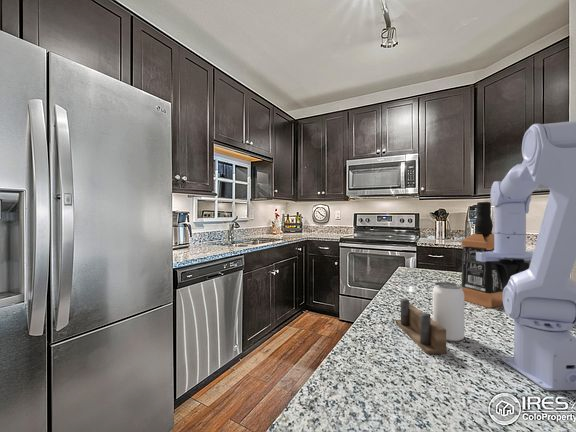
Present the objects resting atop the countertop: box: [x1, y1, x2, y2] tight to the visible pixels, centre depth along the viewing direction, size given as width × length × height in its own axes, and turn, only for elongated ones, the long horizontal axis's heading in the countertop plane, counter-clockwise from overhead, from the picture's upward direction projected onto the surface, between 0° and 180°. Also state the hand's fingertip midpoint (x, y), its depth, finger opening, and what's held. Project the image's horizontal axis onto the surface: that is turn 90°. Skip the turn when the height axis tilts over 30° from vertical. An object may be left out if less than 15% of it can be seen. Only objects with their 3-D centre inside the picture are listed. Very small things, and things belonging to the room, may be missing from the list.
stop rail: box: [395, 298, 447, 355], centre depth 65 cm, size 16×4×7 cm, turn 1°
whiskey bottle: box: [460, 201, 504, 309], centre depth 90 cm, size 10×10×32 cm
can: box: [432, 281, 465, 342], centre depth 66 cm, size 6×6×12 cm
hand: (509, 292), depth 65 cm, fingers closed
